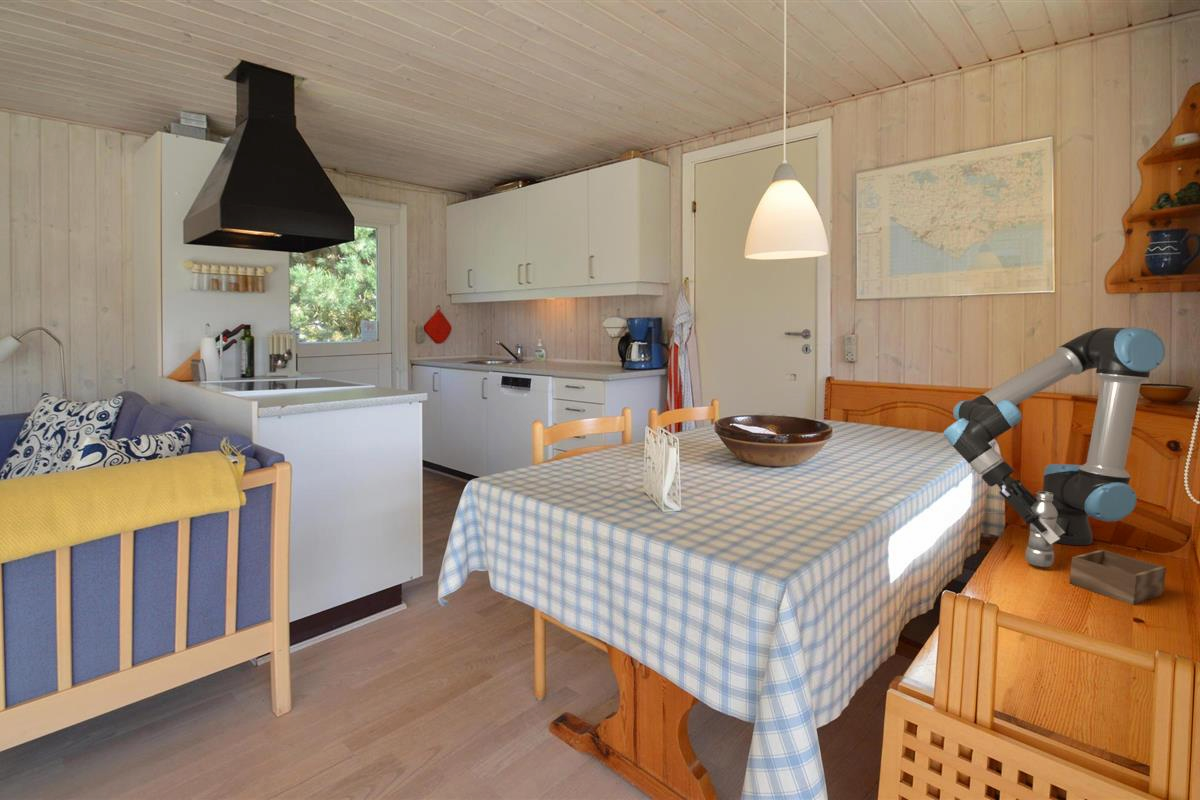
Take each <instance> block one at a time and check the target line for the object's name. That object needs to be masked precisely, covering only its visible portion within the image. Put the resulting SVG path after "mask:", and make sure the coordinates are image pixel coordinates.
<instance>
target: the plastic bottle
mask: <svg viewBox="0 0 1200 800" xmlns="http://www.w3.org/2000/svg"><path fill="white" fill-rule="evenodd" d="M1035 498H1036V499H1037V501H1036V502H1035V503H1034V504H1033V505H1032V506H1031V508H1032V510H1033V511H1034V512H1035V513H1036V515H1037V516H1038V517H1039V518H1042V519H1043V520H1044V521H1045V523H1046V524H1047V525H1048V526H1049V527H1050V528H1051V529H1052V530H1053V531H1054V529H1055V525H1056V521H1057V517H1058V512H1057V510H1056V508H1055V506H1054V505H1053V504H1052V501H1053V493H1050V492H1044V491H1043V490H1041V491H1040V490H1039V491H1037V492H1036V496H1035ZM1024 554H1025V555H1024V556H1025V560H1026V562H1027V563H1028V564H1030V565H1033V566H1035V567H1041V568H1048V567H1051V566H1052V565H1053V563H1054V561H1055V552H1054V543H1052V544H1049V542H1048V541H1047V540H1046V539H1045V538H1044V537H1043V536H1042V535H1041V534H1040V533H1039V532H1038V531H1037V530H1036V528H1035V527H1034V526H1033V525H1032V524H1029V538H1028V543H1027V547H1026V548H1025V553H1024Z"/></svg>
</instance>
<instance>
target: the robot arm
mask: <svg viewBox="0 0 1200 800" xmlns="http://www.w3.org/2000/svg"><path fill="white" fill-rule="evenodd" d="M1165 354H1166V349H1165V344H1164V341H1163V340H1162V338H1161V337H1159V335H1158V334H1157V333H1156V332H1154V331H1153V330H1150V329H1146V328H1142V327H1141V328H1140V327H1135V326H1134V327H1133V326H1132V327H1100V328H1096V329H1093V330H1092V329H1091V330H1089V331H1086V332H1085V333H1083V334H1081V335H1079V336H1077V337H1075V338H1073V339H1071V340H1069V341H1067V342H1065V343H1064V344H1062V345H1060V346H1058V347H1057V348H1056V349H1055V350H1054V353H1053V354H1052V355H1050V356H1047V357H1046V358H1044V359H1043V360H1041V361H1039V362H1037V363H1036V364H1034V365H1032V366H1030V367H1028V368H1027V369H1025V370H1023V371H1021V372H1020V373H1018V374H1016V375H1014V376H1013V377H1010V378H1009V379H1008V380H1006V381H1004V382H1002V383H1000V384H998V385H996V386H995V387H993V388H992V389H990V390H988V391H986V392H984V393H983V394H981V395H979V396H977V397H975V398H973V399H971V400H960V401H959V402H957V403H956V405H955V406H954V408H953V413H952V414H953V418H954V419H955V420H956V421H954V422H953V423H952V424H950V425H949V426H948V427H946V429H944V431H943V437H944V438H945V439H946V440H947V441H948V443H949V444H950V446H951V447H952V448H954V449H955V450H956V451H957V453H958V454H959V455H960V456H961V457H962V458H963V459H964V460H965V461H966V462H967V464H969V466H970V469H971V470H973V471H975V472H976V473H977V474H978V475H981V479H982V480H983V481H984V482H985V483H986V484H987V486H989V487H993V486H995V485H997V486H998V487H999V489H1000V491H999V495H1001V496H1002V497H1003V498H1004V500H1005V501H1007V503H1008V504H1009V505H1010V506H1011V507H1012V508H1013V509H1014V511H1015V512H1017V514H1018V515H1019V516H1020V518H1021V519H1023V521H1024V522H1025V524H1026V525H1027V526H1030V524H1032V525H1033V526H1034V527H1035V528H1036V530H1037V531H1038V532H1039V533H1040V534H1041V535H1042V536H1043V537H1044V538H1045V539H1046V540H1047V541H1048V542H1049V544H1052V543H1053V544H1054V543H1057V544H1062V545H1069V546H1088V545H1091V544H1093V538H1094V537H1093V532H1092V528H1091V524H1090V522H1089V518H1093V519H1095V520H1100V521H1103V522H1108V523H1109V522H1118V521H1120V520H1123V519H1124V518H1125V517H1128V516H1129V515H1131V514H1132V512H1134V510H1135V508H1136V505H1137V498H1138V497H1137V493H1136V492H1135V490H1134V488H1132V486H1130V481H1131V475H1130V474H1129V473H1128V471H1127V469H1125V468H1126V465H1127V464H1126V463H1127V457H1128V454H1129V453H1128V452H1129V447H1130V442H1131V436H1132V431H1133V425H1134V420H1135V415H1136V409H1137V405H1138V399H1139V395H1140V394H1139V393H1140V388H1141V384H1143V383H1144V382H1146V381H1148V380H1149V379H1150V375H1151V371H1153V370H1155V369H1157V368H1158V366H1160V365H1161V364H1162V362H1163V360H1164V359H1165ZM1092 369H1096V370H1095V371H1096V372H1095V375H1096V376H1097V377H1098V378H1099V380H1100V386H1099V392H1098V396H1097V404H1096V409H1095V414H1094V420H1093V425H1092V430H1091V431H1092V432H1091V435H1090V440H1089V441H1090V442H1089V447H1088V452H1087V458H1086V462H1085V463H1084V464H1069V463H1049V464H1046V466H1045V469H1044V472H1043V483H1042V491H1044V492H1050V493H1053V501H1052V504H1053V505H1054V506H1055V508H1056V510H1057V512H1058V517H1057V521H1056V525H1055V529H1054V531H1053V530H1052V529H1051V528H1050V527H1049V526H1048V525H1047V524H1046V523H1045V521H1044V520H1043V519H1042V518H1039V517H1038V516H1037V515H1036V513H1035V512H1034V511H1033V510H1032V508H1031V506H1032V505H1033V504H1034V503H1035V502H1036V501H1037V499H1036V496H1034V495H1033V494H1032V493H1031V492H1030V491H1029V489H1027V488H1026V487H1025V486H1024V485H1023V484H1022V483H1023V482H1021V480H1020V479H1016V480H1015V479H1014V478H1012V477H1011V476H1010V475H1012V474H1013V473H1014V472H1015V470H1014V469H1013V467H1012V466H1011V465H1010V464H1009V463H1008V462H1007V461H1003V460H1004V459H1003V457H1002V456H1001V454H999V453H998V452H997V450H995V448H994V447H993V446H992V445H991V444H990V442H992V441H993V440H995V439H996V438H999V436H1001V435H1003V434H1004V433H1006V432H1007V431H1009V430H1011V429H1013V428H1014V427H1015V426H1016V425H1018V424H1019V423H1020V422H1021V421H1022V419H1023V414H1022V413H1021V411H1020V409H1019V408H1018V406H1017V405H1018V404H1020V403H1022V402H1024V401H1026V400H1028V399H1029V398H1031V397H1033V396H1036V394H1038V393H1040V392H1042V391H1044V390H1046V389H1048V388H1049V387H1051V386H1053V385H1054V384H1056V383H1058V382H1061V381H1062V380H1063V379H1065V378H1067V377H1070V376H1071V375H1075V376H1077V375H1080V374H1081V373H1084V372H1087V371H1089V370H1092Z"/></svg>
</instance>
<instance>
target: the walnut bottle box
mask: <svg viewBox="0 0 1200 800" xmlns="http://www.w3.org/2000/svg"><path fill="white" fill-rule="evenodd" d="M1166 571H1167V566H1163V565H1159V564H1155V563H1152V562H1147V561H1145V560H1141V559H1137V558H1134V557H1130V556H1126V555H1124V554H1120V553H1116V552H1112V551H1109V550H1105V549H1099V550H1095V551H1091V552H1087V553H1082V554H1079V555H1074V556H1072V557H1071V565H1070V574H1069V582H1068V583H1069V585H1071V584H1072V586H1074V585H1075V587H1077V586H1078V587H1077V588H1080V587H1081V589H1083V588H1084V590H1086V589H1087V590H1086V591H1089V590H1090V592H1092V591H1093V593H1095V592H1096V594H1099V595H1101V596H1105V597H1108V598H1111V599H1113V598H1115V599H1114V600H1116V599H1118V600H1117V601H1119V600H1120V602H1122V601H1124V602H1123V603H1125V602H1126V604H1128V603H1129V604H1128V605H1131V604H1132V605H1131V606H1135V605H1137V603H1138V604H1140V602H1141V603H1143V601H1144V602H1146V600H1147V601H1150V600H1153V599H1155V597H1156V598H1158V596H1159V597H1161V595H1162V596H1163V595H1164V589H1165V581H1166V574H1167V573H1166ZM1152 598H1153V599H1152ZM1149 599H1150V600H1149ZM1134 604H1135V605H1134Z"/></svg>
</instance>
